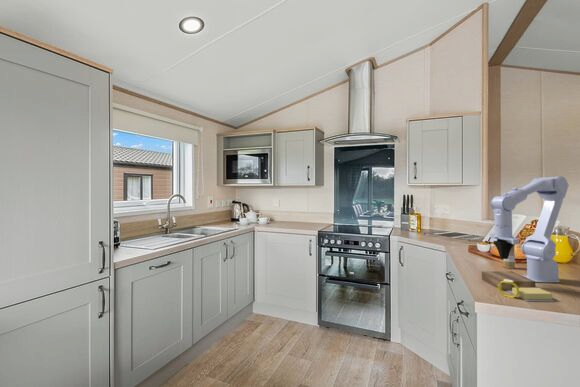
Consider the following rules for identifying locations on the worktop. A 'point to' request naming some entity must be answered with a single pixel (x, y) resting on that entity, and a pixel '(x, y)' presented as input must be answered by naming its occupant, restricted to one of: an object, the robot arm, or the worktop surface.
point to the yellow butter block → (532, 293)
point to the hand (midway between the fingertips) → (504, 258)
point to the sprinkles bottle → (510, 259)
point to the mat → (534, 299)
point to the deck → (499, 276)
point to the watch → (509, 283)
